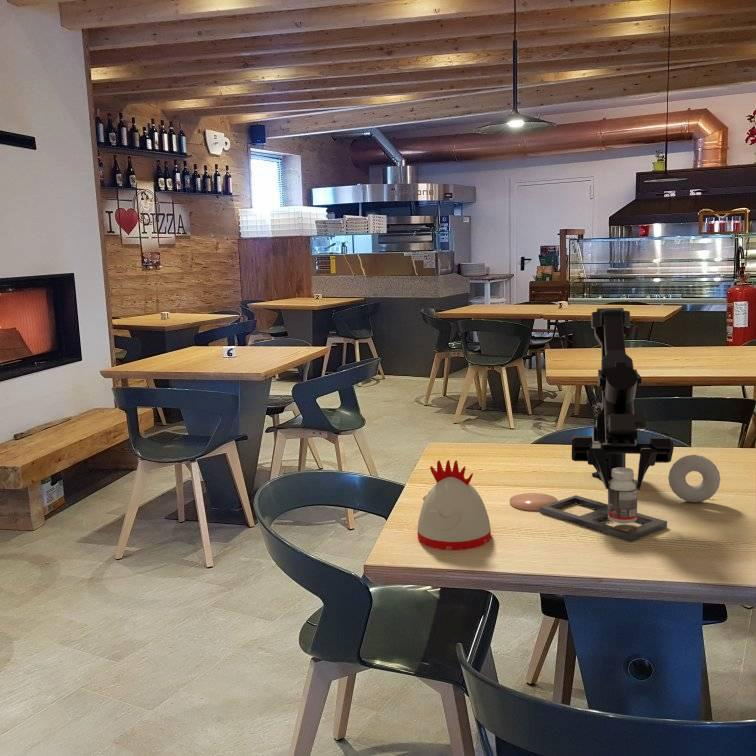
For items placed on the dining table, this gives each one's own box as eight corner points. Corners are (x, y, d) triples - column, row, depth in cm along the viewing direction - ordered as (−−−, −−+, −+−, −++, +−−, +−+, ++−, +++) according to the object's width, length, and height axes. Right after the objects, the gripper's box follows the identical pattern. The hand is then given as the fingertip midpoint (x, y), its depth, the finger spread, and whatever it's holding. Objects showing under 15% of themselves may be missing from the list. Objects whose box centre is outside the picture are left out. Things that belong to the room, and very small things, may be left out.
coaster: (532, 492, 176) (532, 490, 176) (567, 503, 168) (567, 500, 168) (499, 502, 170) (499, 500, 170) (534, 514, 162) (534, 511, 162)
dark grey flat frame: (575, 500, 169) (575, 495, 169) (667, 527, 151) (667, 521, 151) (540, 512, 163) (539, 506, 163) (630, 542, 145) (630, 535, 145)
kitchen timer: (430, 521, 161) (428, 449, 158) (498, 527, 156) (496, 452, 153) (408, 546, 148) (404, 468, 146) (480, 553, 143) (478, 473, 141)
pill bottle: (603, 515, 155) (603, 467, 154) (630, 513, 156) (630, 465, 154) (614, 525, 150) (614, 475, 148) (641, 523, 151) (642, 473, 149)
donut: (718, 500, 165) (719, 453, 164) (720, 505, 162) (722, 458, 160) (667, 498, 168) (668, 452, 166) (668, 503, 165) (669, 456, 163)
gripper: (571, 395, 155) (572, 467, 146) (673, 395, 151) (680, 469, 142) (571, 425, 164) (572, 494, 155) (667, 426, 160) (673, 497, 151)
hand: (623, 488), depth 151 cm, fingers closed on pill bottle, 5 cm apart
